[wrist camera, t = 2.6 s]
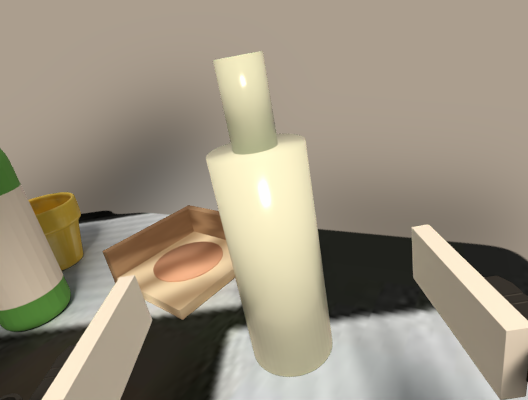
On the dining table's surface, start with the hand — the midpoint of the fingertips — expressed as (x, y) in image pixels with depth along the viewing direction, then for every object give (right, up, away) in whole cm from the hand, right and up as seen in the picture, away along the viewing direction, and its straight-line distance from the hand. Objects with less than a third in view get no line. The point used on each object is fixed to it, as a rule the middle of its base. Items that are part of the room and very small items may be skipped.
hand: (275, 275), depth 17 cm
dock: (-10, -5, +29) cm, 32 cm away
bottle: (+2, -9, +15) cm, 17 cm away
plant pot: (-32, -6, +38) cm, 50 cm away
